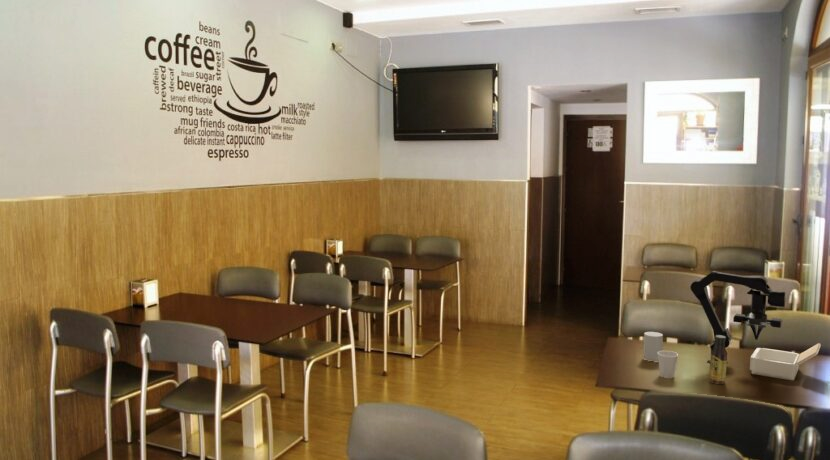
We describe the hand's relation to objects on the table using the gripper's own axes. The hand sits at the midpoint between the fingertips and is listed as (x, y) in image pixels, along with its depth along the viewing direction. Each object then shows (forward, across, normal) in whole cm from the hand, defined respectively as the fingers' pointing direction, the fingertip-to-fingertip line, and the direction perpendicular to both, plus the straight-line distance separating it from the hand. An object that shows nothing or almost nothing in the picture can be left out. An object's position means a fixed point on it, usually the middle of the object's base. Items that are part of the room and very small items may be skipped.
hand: (756, 339), depth 300 cm
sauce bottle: (+13, -10, -29) cm, 34 cm away
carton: (+13, +8, 0) cm, 15 cm away
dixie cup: (+13, -29, -33) cm, 46 cm away
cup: (+13, -41, -13) cm, 45 cm away
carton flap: (+3, +20, 0) cm, 20 cm away
